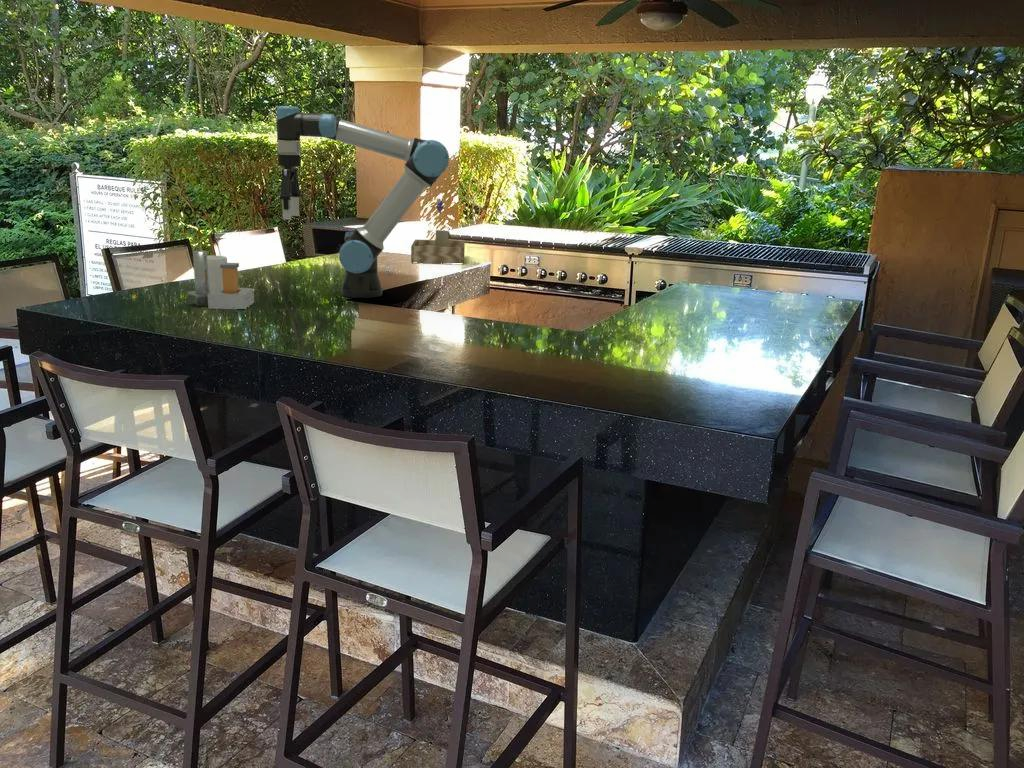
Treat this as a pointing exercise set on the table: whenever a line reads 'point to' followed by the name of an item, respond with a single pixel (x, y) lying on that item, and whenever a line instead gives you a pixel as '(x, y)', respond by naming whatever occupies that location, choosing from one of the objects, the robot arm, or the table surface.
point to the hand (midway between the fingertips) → (291, 217)
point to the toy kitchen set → (441, 238)
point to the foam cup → (215, 271)
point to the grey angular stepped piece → (217, 296)
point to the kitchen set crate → (437, 252)
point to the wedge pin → (230, 277)
